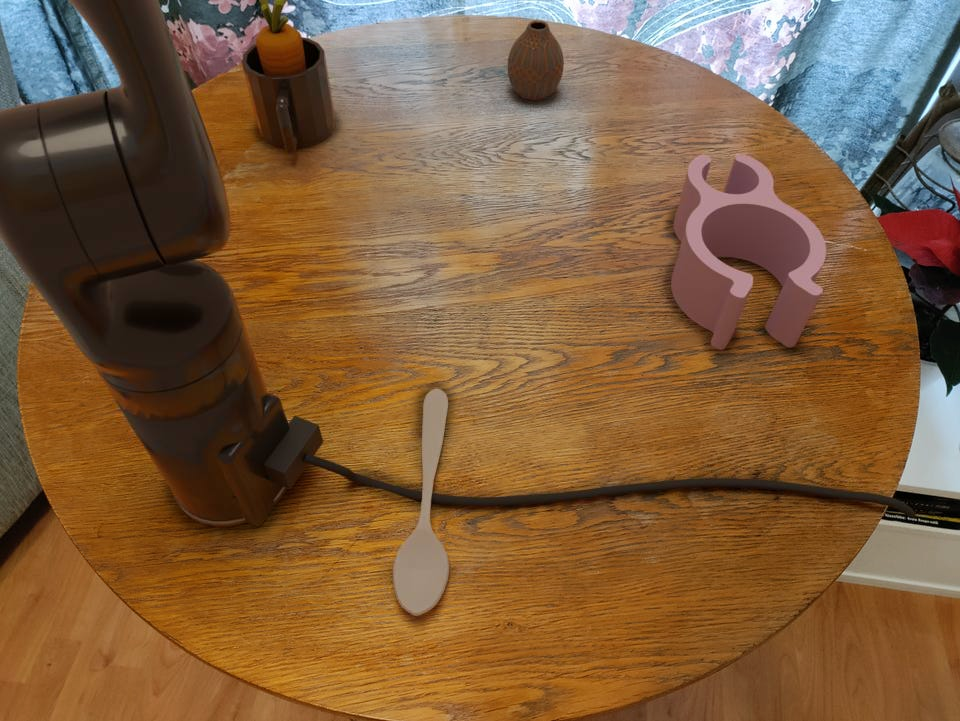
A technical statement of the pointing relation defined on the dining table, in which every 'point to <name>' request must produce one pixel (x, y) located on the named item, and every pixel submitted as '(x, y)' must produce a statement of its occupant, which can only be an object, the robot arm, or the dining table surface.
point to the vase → (535, 62)
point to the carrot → (279, 43)
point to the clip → (743, 251)
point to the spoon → (424, 524)
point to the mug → (292, 100)
